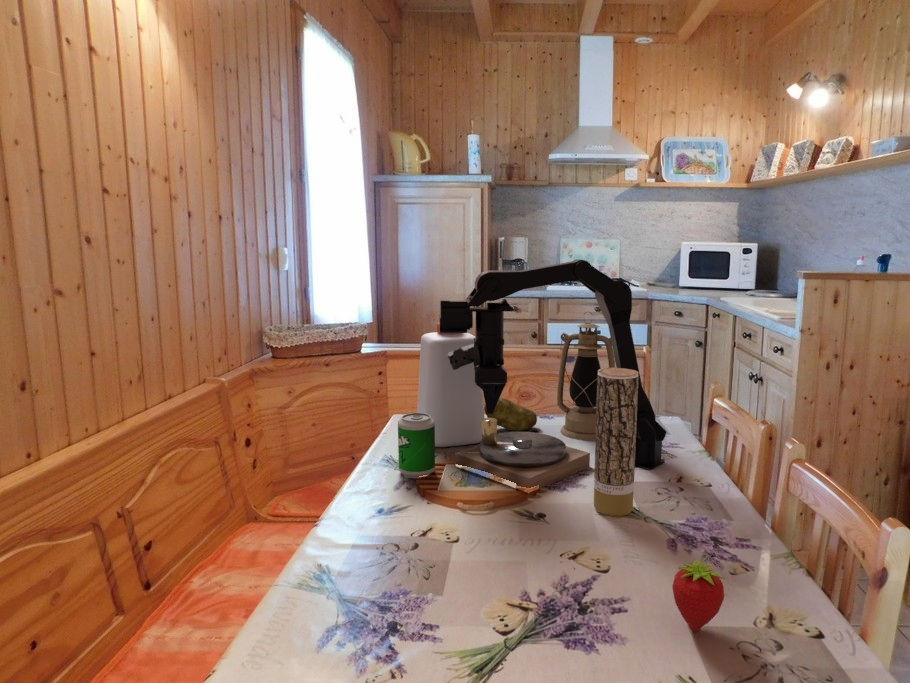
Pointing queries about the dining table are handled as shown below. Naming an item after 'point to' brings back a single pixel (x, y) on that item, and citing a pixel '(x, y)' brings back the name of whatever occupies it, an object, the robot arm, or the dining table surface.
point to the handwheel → (519, 447)
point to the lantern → (582, 382)
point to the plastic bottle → (449, 390)
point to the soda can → (416, 444)
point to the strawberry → (698, 594)
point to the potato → (512, 415)
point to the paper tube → (615, 440)
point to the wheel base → (527, 475)
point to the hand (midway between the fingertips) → (489, 407)
